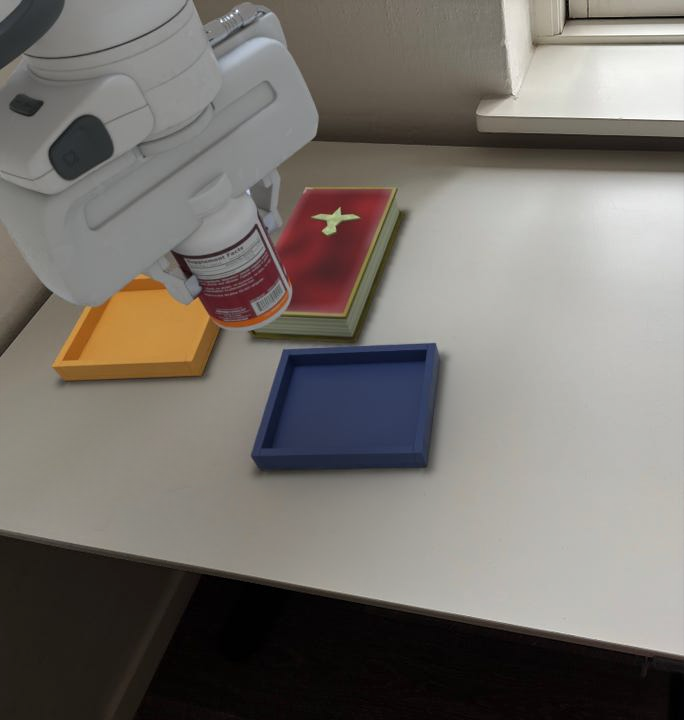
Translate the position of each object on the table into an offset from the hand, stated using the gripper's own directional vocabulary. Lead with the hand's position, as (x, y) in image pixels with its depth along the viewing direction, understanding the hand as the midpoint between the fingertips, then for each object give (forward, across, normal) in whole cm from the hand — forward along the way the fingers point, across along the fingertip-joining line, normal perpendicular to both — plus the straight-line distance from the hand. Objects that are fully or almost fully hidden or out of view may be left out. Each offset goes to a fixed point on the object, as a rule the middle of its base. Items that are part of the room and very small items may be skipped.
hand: (230, 262), depth 49 cm
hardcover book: (+23, -18, -16) cm, 33 cm away
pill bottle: (+4, 0, 0) cm, 4 cm away
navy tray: (+23, -4, 0) cm, 23 cm away
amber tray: (+23, -2, -28) cm, 36 cm away
